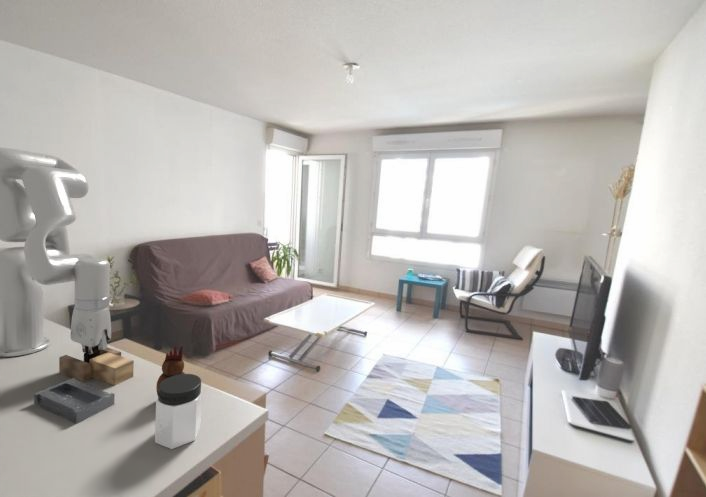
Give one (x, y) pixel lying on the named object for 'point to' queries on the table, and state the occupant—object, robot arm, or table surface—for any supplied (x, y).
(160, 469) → the table surface
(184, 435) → the jar
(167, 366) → the wooden figurine
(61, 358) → the wooden blocks
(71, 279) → the robot arm
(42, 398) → the grey shallow tray
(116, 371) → the cardboard-coloured box
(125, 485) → the table surface
